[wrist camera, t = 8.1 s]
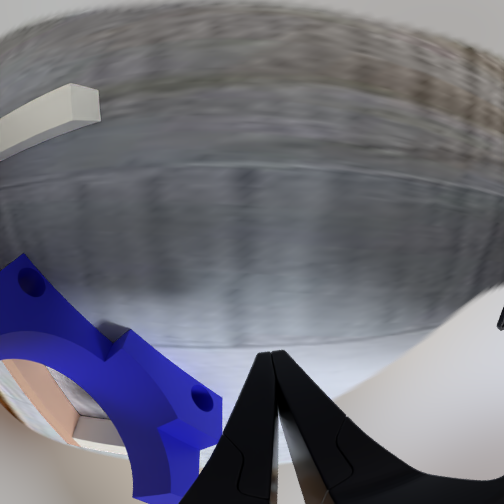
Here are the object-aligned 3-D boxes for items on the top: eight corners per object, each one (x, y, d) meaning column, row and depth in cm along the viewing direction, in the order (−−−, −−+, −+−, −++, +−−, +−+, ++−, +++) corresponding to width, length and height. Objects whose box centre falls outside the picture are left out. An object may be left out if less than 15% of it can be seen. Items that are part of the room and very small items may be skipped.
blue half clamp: (222, 395, 14) (223, 497, 8) (168, 421, 14) (157, 506, 9) (38, 230, 10) (-56, 301, 4) (7, 286, 10) (-59, 356, 5)
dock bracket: (98, 90, 8) (70, 82, 6) (194, 433, 15) (192, 459, 13) (-40, 160, 7) (-66, 168, 6) (75, 423, 15) (67, 443, 13)
